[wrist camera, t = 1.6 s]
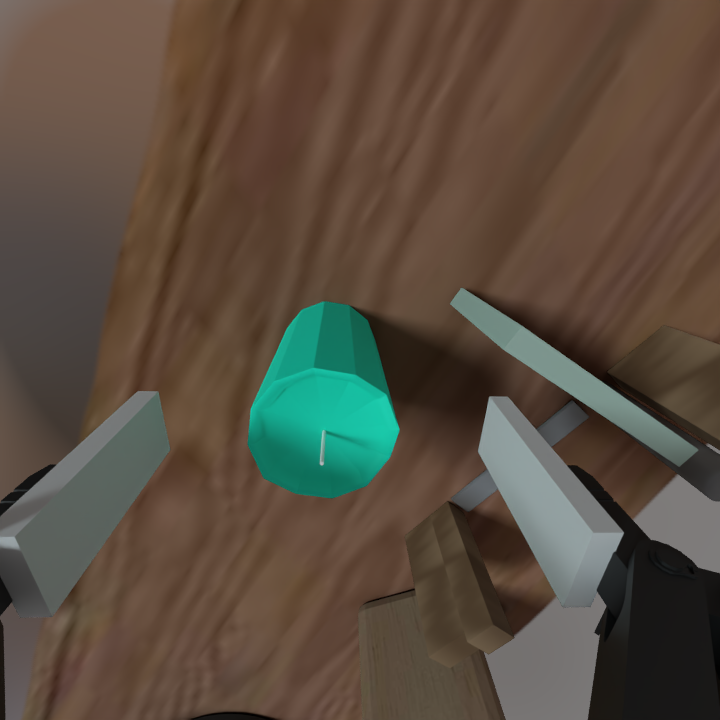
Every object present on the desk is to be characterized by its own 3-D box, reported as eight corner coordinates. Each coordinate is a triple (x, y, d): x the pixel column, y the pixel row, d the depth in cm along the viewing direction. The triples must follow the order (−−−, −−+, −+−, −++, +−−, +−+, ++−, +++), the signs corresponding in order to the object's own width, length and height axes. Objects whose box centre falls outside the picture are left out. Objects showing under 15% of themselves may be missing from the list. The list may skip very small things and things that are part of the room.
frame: (420, 546, 31) (452, 677, 22) (404, 536, 31) (430, 666, 22) (678, 343, 25) (861, 415, 16) (664, 325, 24) (846, 389, 16)
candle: (321, 401, 25) (307, 549, 14) (265, 336, 23) (197, 450, 12) (392, 355, 24) (437, 476, 13) (340, 282, 22) (340, 352, 11)
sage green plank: (593, 379, 25) (698, 449, 18) (581, 392, 25) (679, 466, 18) (461, 287, 22) (522, 326, 15) (449, 303, 22) (503, 349, 15)
